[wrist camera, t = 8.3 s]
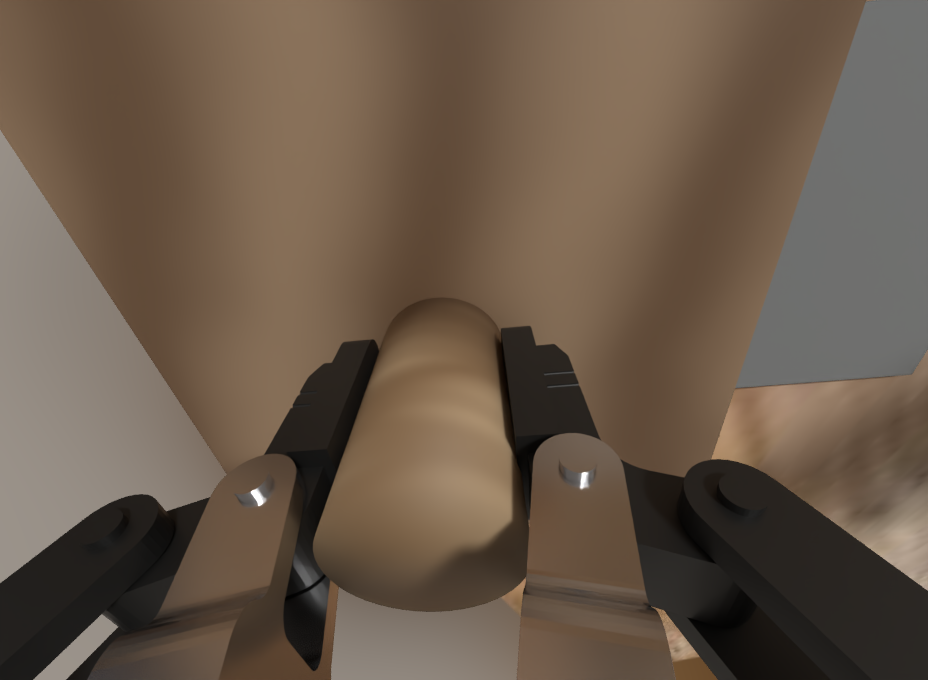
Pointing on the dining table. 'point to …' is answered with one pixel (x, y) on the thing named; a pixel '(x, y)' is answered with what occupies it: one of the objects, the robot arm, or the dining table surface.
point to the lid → (430, 226)
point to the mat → (858, 222)
